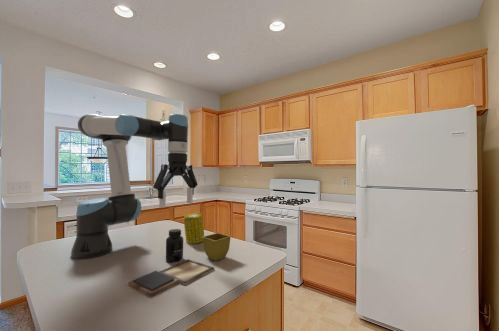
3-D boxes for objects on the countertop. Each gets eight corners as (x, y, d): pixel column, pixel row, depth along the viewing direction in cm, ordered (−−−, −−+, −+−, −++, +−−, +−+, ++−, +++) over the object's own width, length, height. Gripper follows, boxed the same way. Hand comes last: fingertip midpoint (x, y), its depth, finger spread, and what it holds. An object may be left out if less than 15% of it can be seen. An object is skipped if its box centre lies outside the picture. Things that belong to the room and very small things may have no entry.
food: (206, 245, 118) (186, 249, 113) (200, 234, 128) (181, 237, 123) (207, 217, 114) (187, 220, 110) (200, 208, 124) (181, 211, 120)
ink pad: (133, 281, 74) (133, 280, 74) (155, 272, 81) (155, 270, 81) (151, 291, 69) (151, 289, 69) (173, 280, 75) (173, 278, 75)
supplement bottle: (177, 263, 91) (178, 233, 91) (162, 262, 92) (162, 232, 92) (186, 257, 98) (186, 228, 98) (171, 255, 99) (171, 227, 99)
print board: (157, 274, 82) (157, 271, 82) (188, 261, 93) (188, 258, 93) (184, 285, 74) (184, 282, 74) (214, 269, 85) (214, 267, 86)
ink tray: (128, 285, 74) (128, 282, 74) (156, 273, 82) (156, 270, 82) (150, 297, 67) (150, 293, 67) (178, 282, 75) (178, 279, 75)
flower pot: (201, 258, 97) (201, 236, 97) (217, 252, 103) (217, 232, 103) (214, 264, 91) (214, 241, 91) (231, 257, 97) (231, 236, 97)
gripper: (156, 150, 82) (155, 210, 82) (206, 154, 103) (205, 202, 102) (143, 151, 86) (142, 208, 86) (194, 154, 107) (193, 200, 107)
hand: (176, 205), depth 94 cm, fingers open, 13 cm apart
